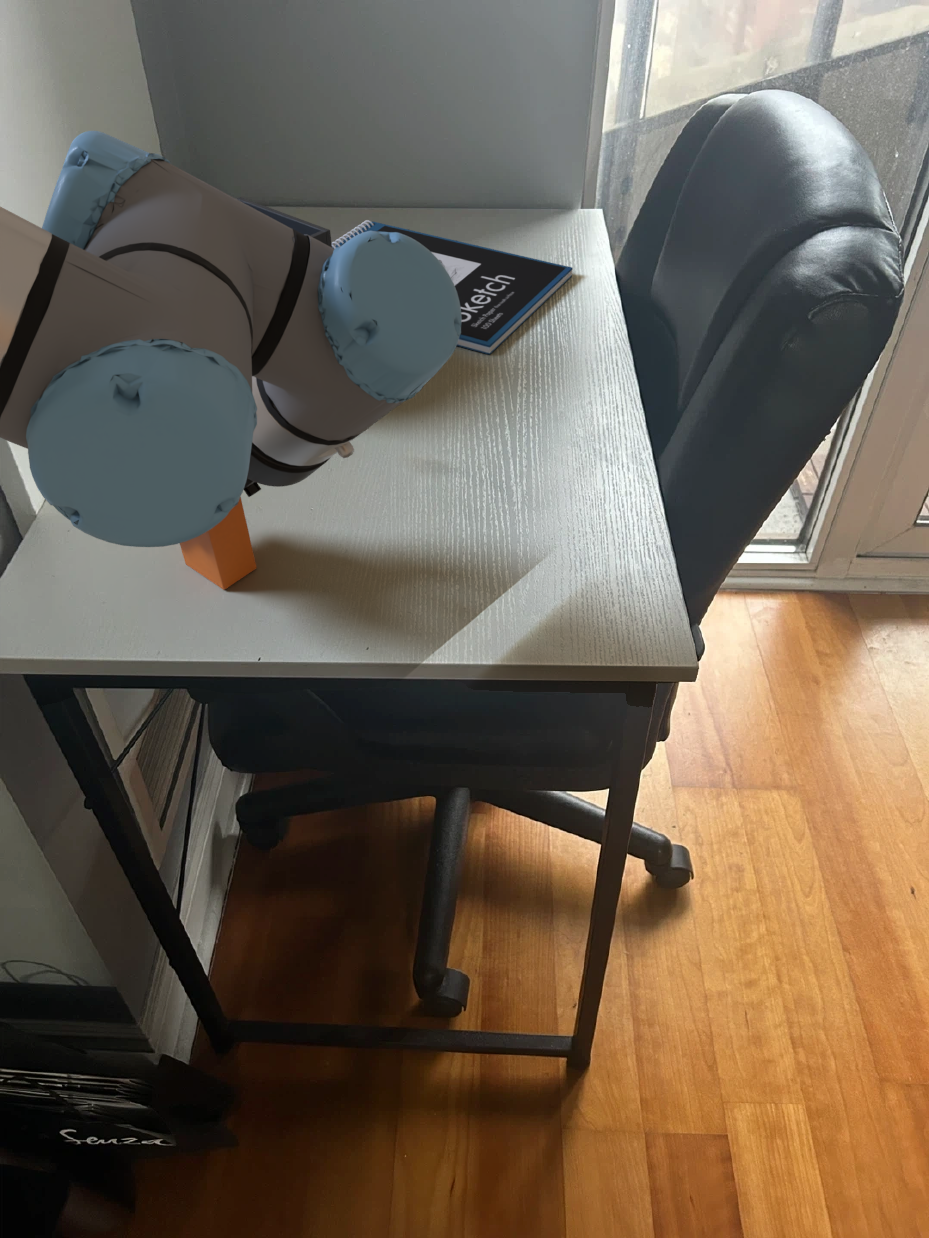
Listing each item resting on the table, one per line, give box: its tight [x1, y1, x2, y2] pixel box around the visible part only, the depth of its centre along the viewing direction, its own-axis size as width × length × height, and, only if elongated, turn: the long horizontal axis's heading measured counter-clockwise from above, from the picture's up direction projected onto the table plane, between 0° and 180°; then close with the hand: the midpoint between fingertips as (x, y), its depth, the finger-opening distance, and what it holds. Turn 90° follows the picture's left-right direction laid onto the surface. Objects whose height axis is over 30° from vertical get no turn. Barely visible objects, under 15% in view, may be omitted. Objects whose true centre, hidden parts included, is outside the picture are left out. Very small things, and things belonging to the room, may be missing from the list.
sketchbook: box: [331, 219, 574, 356], centre depth 113 cm, size 22×30×2 cm
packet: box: [179, 495, 257, 591], centre depth 74 cm, size 4×5×12 cm
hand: (183, 516), depth 77 cm, fingers closed on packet, 3 cm apart
